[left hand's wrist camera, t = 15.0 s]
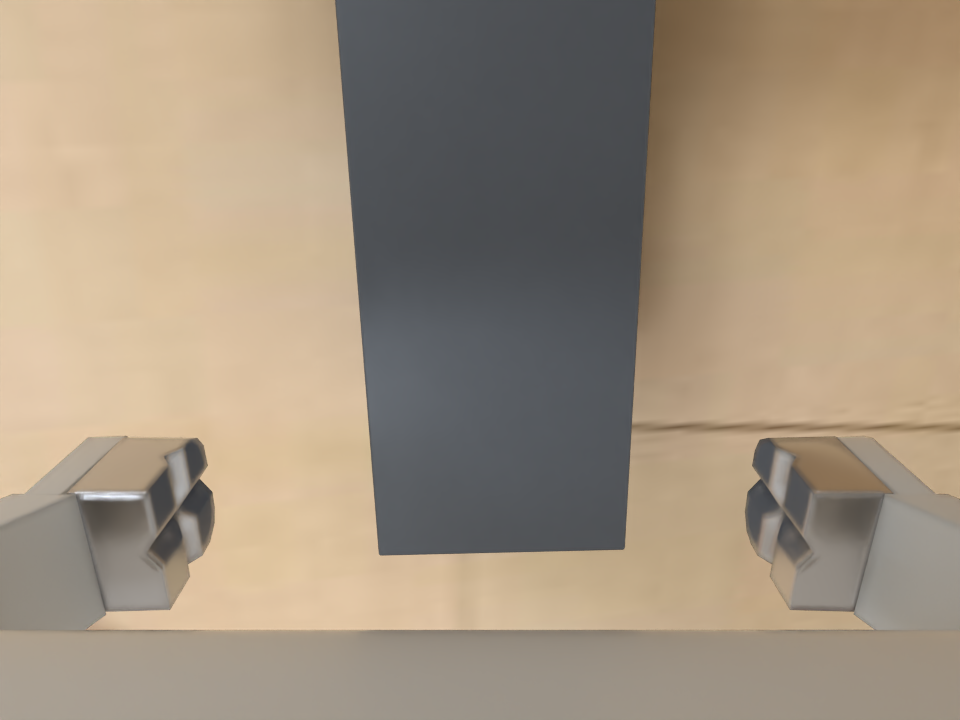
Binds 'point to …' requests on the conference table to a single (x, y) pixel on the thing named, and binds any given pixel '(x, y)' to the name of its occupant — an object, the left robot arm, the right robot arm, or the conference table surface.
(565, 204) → the bar
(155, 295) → the conference table surface
